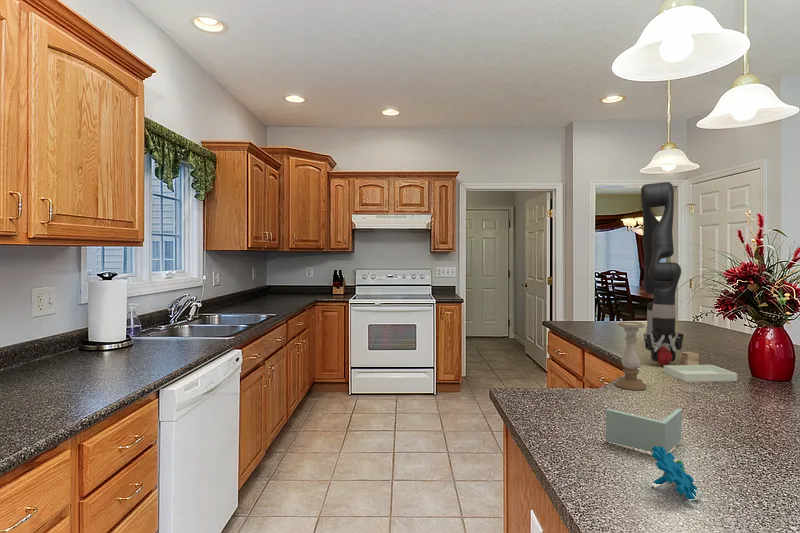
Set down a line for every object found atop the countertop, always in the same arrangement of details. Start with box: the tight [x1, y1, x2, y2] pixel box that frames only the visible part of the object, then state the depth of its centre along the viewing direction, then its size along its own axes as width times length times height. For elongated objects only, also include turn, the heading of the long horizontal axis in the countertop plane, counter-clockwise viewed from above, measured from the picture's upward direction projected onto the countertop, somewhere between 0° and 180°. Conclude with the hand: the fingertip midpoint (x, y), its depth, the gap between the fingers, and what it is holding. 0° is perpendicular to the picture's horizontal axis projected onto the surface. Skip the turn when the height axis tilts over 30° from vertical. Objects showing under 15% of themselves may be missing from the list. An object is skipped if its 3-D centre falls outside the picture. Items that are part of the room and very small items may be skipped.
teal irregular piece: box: [652, 446, 698, 500], centre depth 83 cm, size 11×6×10 cm
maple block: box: [680, 351, 700, 365], centre depth 170 cm, size 4×4×5 cm
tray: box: [663, 364, 738, 383], centre depth 156 cm, size 12×18×2 cm, turn 91°
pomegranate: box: [656, 345, 673, 367], centre depth 170 cm, size 6×6×8 cm
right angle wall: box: [605, 408, 683, 454], centre depth 103 cm, size 12×12×8 cm
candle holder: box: [615, 321, 647, 391], centre depth 145 cm, size 9×9×20 cm
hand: (663, 360), depth 170 cm, fingers closed on pomegranate, 5 cm apart
